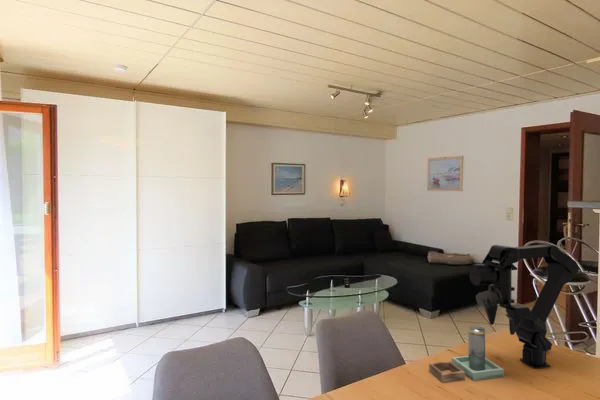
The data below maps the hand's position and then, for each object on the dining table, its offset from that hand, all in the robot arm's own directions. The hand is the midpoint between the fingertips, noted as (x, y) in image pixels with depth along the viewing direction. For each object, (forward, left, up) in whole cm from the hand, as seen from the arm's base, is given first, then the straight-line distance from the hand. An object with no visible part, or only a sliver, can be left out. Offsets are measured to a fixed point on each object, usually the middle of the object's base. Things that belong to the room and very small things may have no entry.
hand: (501, 329), depth 122 cm
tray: (+9, 0, -13) cm, 16 cm away
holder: (+21, +1, -13) cm, 25 cm away
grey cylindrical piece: (+9, 0, -12) cm, 15 cm away
